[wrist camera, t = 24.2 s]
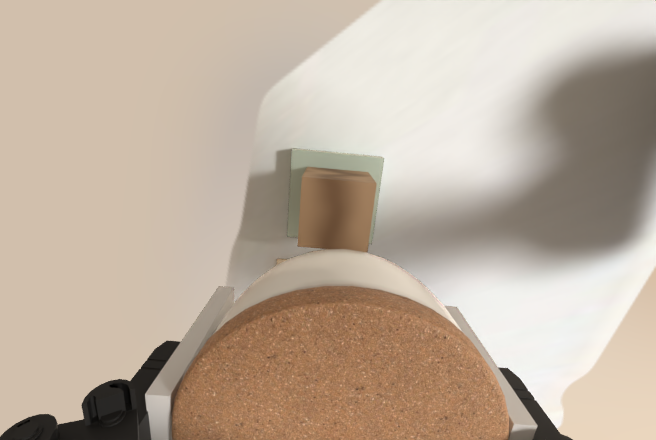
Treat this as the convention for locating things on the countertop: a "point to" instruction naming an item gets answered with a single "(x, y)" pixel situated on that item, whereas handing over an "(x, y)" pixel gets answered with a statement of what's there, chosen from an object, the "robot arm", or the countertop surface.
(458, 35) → the countertop surface
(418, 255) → the countertop surface
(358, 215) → the walnut cube
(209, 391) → the lidded jar
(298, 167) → the base plate
